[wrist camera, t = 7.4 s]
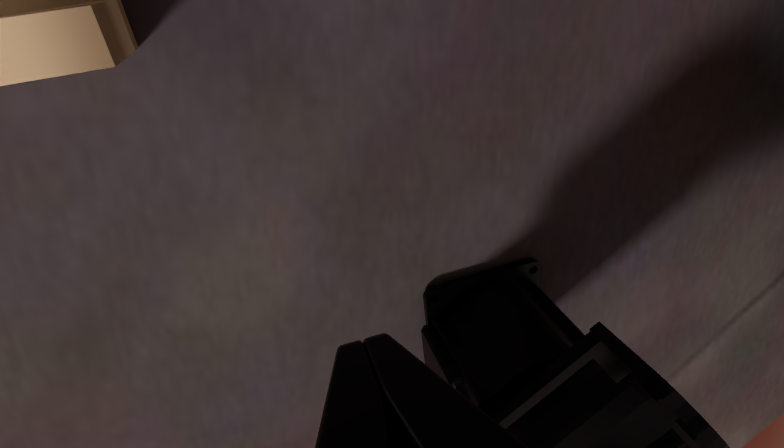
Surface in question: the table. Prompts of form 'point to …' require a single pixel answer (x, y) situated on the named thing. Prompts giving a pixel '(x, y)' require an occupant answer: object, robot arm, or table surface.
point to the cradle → (61, 38)
